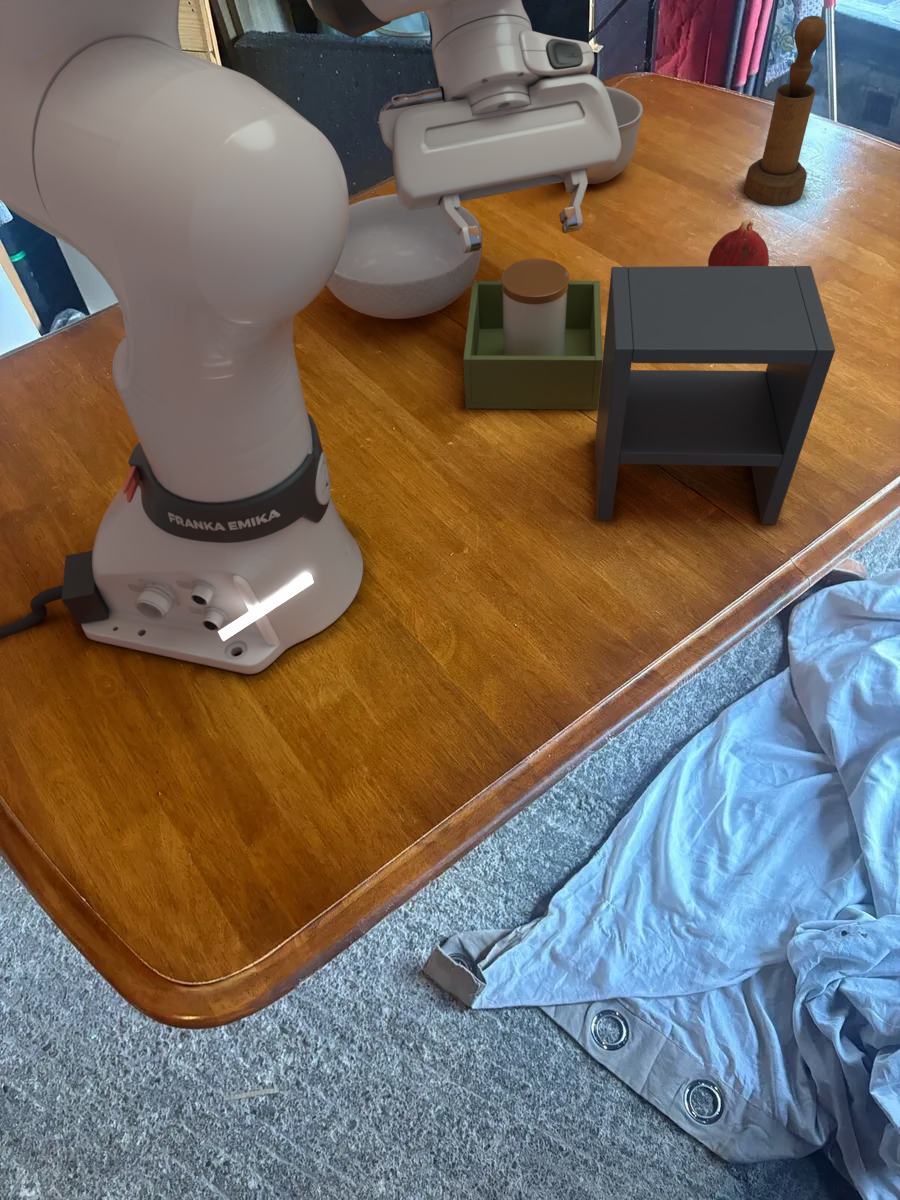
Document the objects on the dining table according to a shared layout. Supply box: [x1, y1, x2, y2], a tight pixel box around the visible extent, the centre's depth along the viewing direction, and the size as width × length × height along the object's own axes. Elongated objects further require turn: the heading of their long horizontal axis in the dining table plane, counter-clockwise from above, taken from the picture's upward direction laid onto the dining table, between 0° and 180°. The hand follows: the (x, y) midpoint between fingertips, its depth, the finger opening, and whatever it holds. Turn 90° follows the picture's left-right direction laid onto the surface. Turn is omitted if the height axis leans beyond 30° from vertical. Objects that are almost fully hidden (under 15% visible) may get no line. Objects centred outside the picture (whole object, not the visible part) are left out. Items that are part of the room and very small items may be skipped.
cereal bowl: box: [325, 193, 483, 320], centre depth 92 cm, size 17×17×7 cm
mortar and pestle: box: [743, 15, 827, 206], centre depth 97 cm, size 7×6×18 cm
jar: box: [500, 258, 570, 356], centre depth 82 cm, size 6×6×9 cm
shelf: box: [594, 265, 836, 525], centre depth 69 cm, size 14×10×17 cm
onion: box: [707, 219, 770, 266], centre depth 89 cm, size 6×6×8 cm
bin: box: [462, 280, 603, 411], centre depth 84 cm, size 12×12×6 cm
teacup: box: [587, 85, 644, 185], centre depth 105 cm, size 14×11×8 cm
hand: (523, 240), depth 80 cm, fingers open, 8 cm apart
